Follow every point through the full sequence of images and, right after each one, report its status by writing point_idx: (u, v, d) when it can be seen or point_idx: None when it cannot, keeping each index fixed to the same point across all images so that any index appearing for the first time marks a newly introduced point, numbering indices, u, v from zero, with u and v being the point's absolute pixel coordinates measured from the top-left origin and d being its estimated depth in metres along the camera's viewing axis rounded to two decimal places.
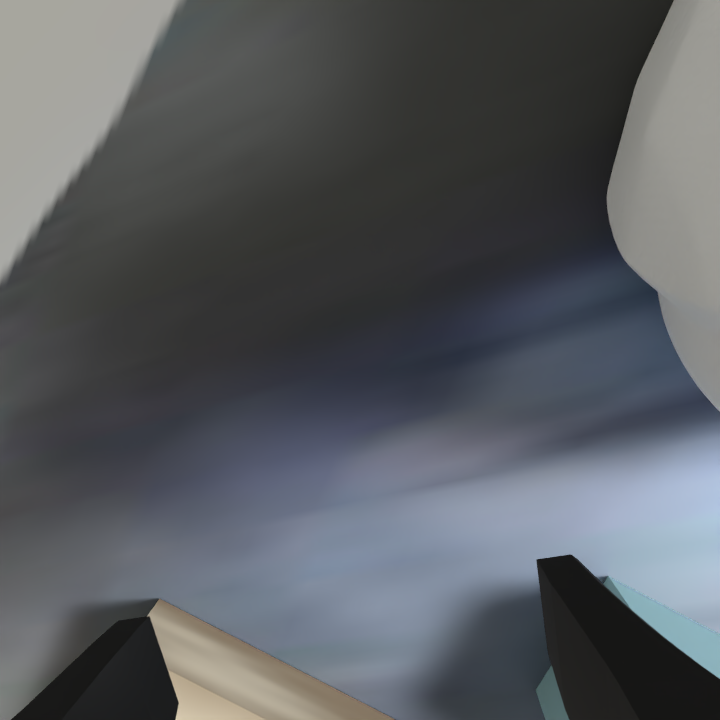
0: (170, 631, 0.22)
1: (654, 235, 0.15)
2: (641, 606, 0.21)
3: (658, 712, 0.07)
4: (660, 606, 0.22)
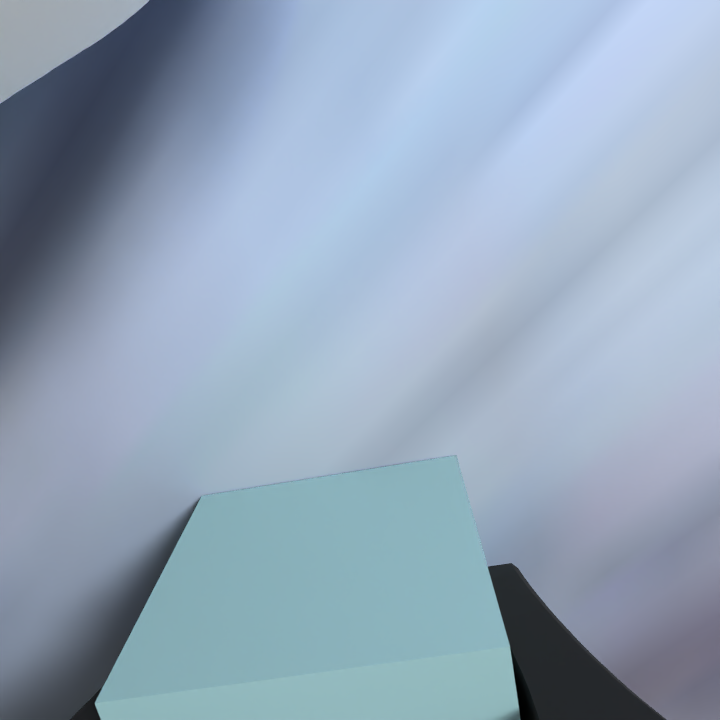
0: None
1: None
2: (220, 531, 0.11)
3: None
4: (293, 492, 0.12)
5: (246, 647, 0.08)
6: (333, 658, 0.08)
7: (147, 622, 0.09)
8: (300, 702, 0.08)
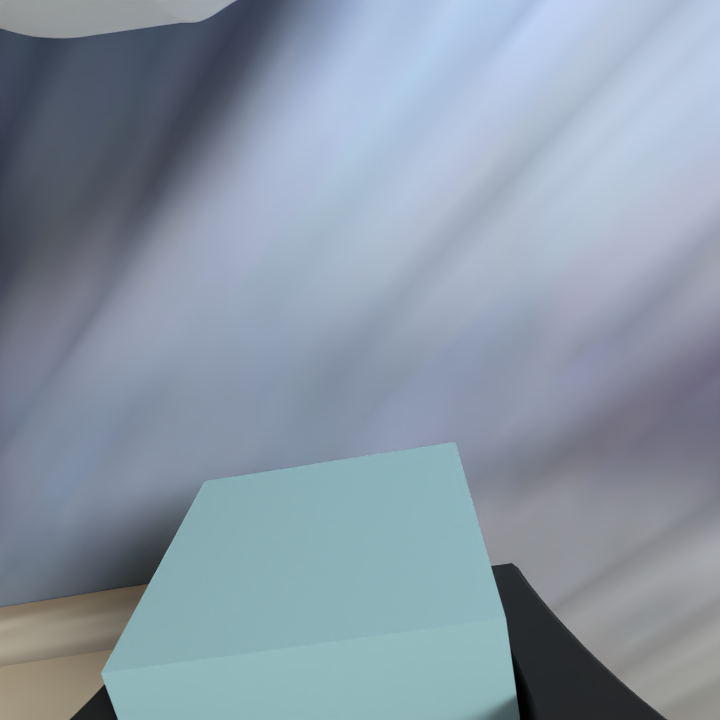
0: None
1: None
2: (223, 514, 0.11)
3: None
4: (294, 477, 0.12)
5: (248, 620, 0.08)
6: (333, 630, 0.08)
7: (151, 598, 0.09)
8: (302, 674, 0.08)
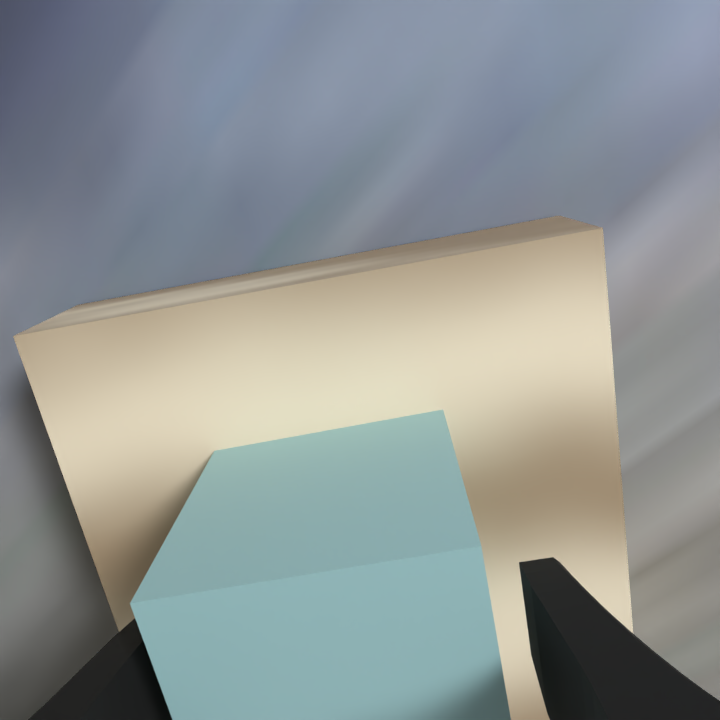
0: (92, 309, 0.15)
1: None
2: (232, 477, 0.12)
3: (630, 715, 0.07)
4: (296, 444, 0.13)
5: (257, 557, 0.09)
6: (332, 562, 0.09)
7: (171, 545, 0.10)
8: (305, 600, 0.09)
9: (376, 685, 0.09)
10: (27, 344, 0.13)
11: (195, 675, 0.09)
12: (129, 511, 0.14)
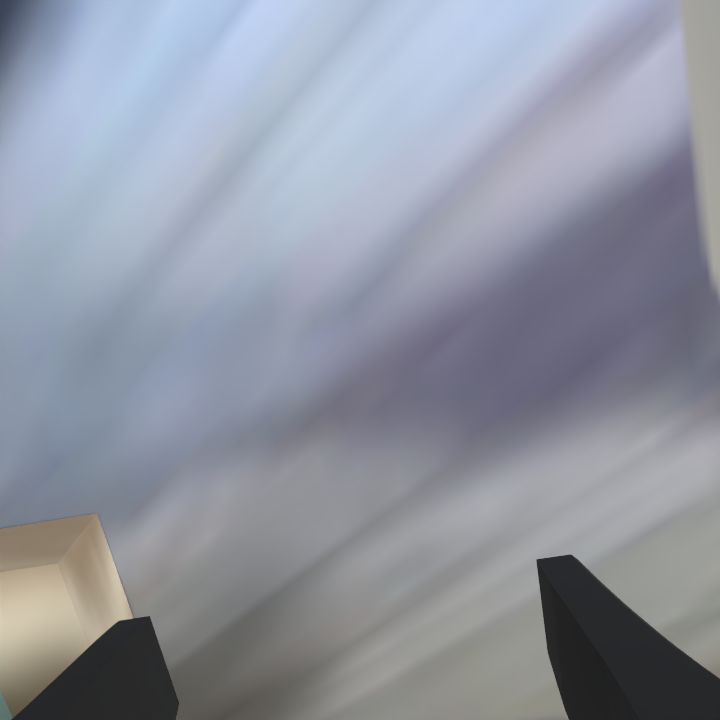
0: None
1: None
2: None
3: (658, 712, 0.07)
4: None
5: None
6: None
7: None
8: None
9: None
10: None
11: None
12: None
